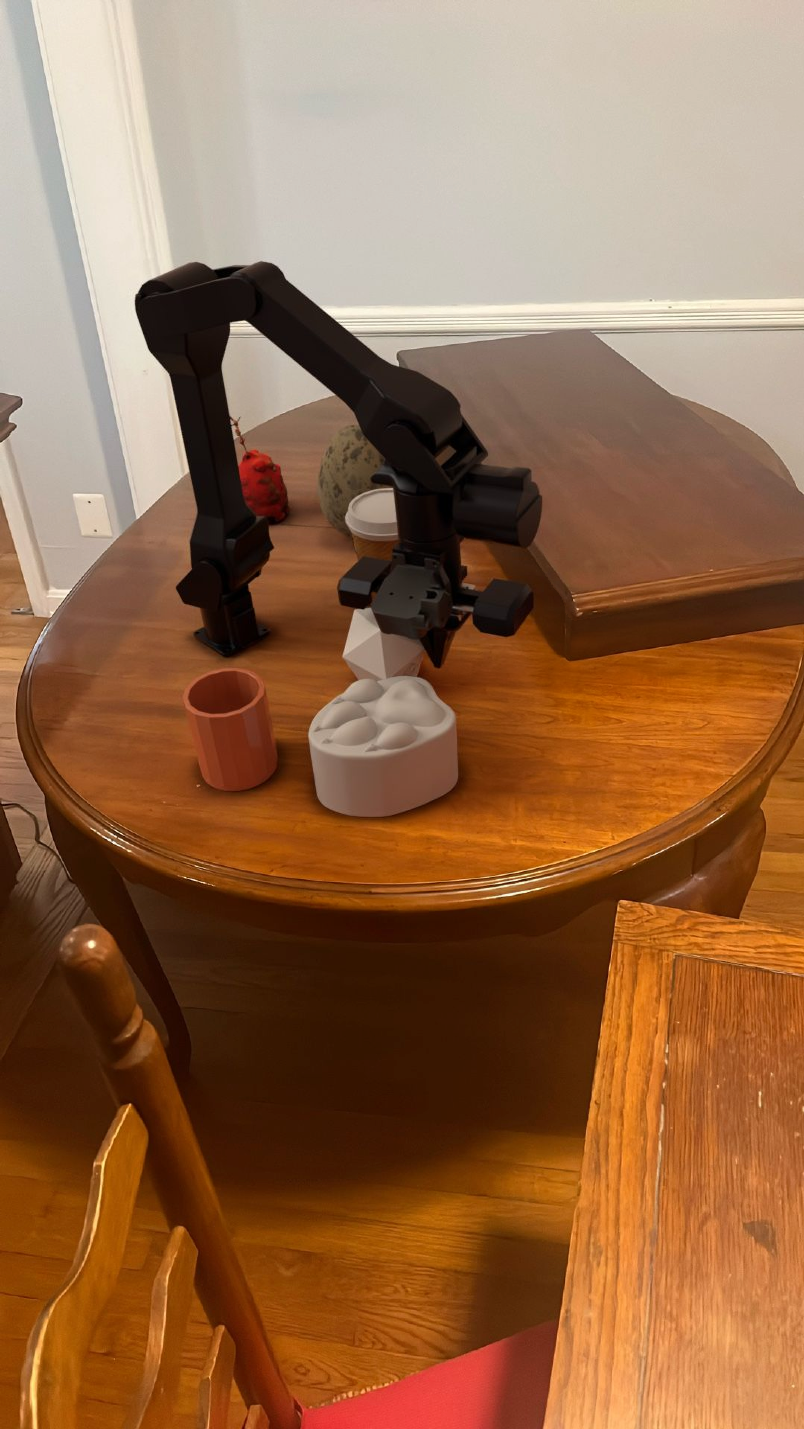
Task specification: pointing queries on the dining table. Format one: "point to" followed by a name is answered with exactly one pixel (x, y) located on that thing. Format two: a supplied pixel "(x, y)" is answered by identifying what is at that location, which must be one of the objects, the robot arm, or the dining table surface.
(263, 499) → the red bumpy tall lump
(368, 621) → the die
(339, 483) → the decorative egg
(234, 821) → the dining table surface
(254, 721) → the terracotta cup
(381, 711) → the lumpy-topped squat cylinder
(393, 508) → the disposable coffee cup
